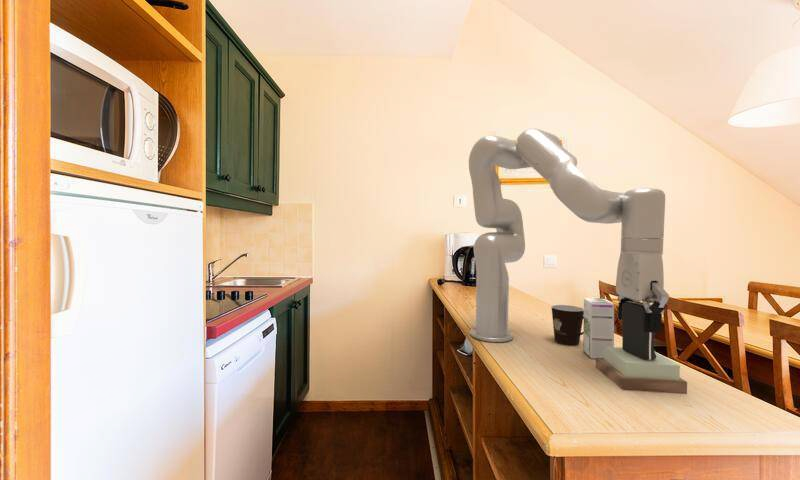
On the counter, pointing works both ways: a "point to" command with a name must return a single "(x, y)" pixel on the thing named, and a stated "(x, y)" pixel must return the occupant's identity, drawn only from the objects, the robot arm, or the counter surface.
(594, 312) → the syrup box
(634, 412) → the counter surface
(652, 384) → the tower base
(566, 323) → the coffee mug
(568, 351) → the counter surface
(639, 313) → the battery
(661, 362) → the tower top
